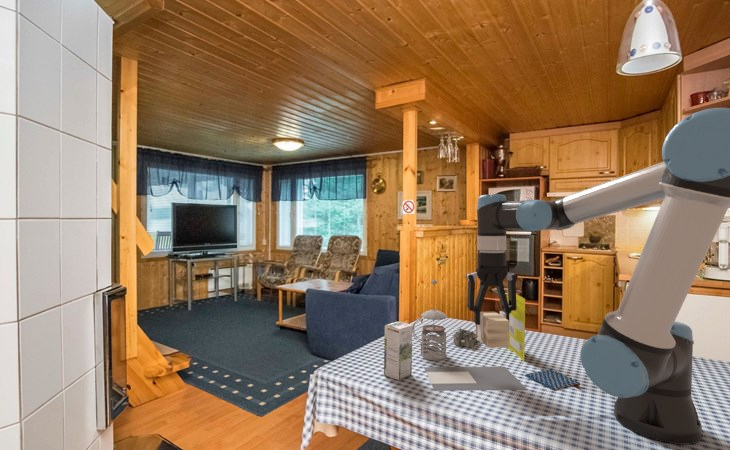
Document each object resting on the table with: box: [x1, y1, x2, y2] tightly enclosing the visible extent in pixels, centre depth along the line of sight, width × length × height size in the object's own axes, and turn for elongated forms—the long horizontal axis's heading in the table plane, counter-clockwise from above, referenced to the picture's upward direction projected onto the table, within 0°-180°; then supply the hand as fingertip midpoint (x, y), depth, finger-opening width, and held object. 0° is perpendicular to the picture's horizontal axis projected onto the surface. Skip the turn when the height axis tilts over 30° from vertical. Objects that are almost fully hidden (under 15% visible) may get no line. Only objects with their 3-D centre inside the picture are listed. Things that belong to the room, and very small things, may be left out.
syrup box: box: [383, 321, 414, 381], centre depth 108 cm, size 6×6×14 cm
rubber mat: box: [423, 366, 528, 392], centre depth 105 cm, size 15×24×1 cm, turn 92°
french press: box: [412, 279, 448, 361], centre depth 122 cm, size 10×12×25 cm
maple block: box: [475, 311, 509, 349], centre depth 105 cm, size 10×6×7 cm, turn 2°
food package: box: [506, 289, 526, 362], centre depth 125 cm, size 15×1×20 cm, turn 179°
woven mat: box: [524, 368, 581, 392], centre depth 104 cm, size 10×11×2 cm
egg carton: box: [452, 327, 478, 348], centre depth 137 cm, size 11×8×4 cm
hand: (491, 335), depth 105 cm, fingers closed on maple block, 5 cm apart
